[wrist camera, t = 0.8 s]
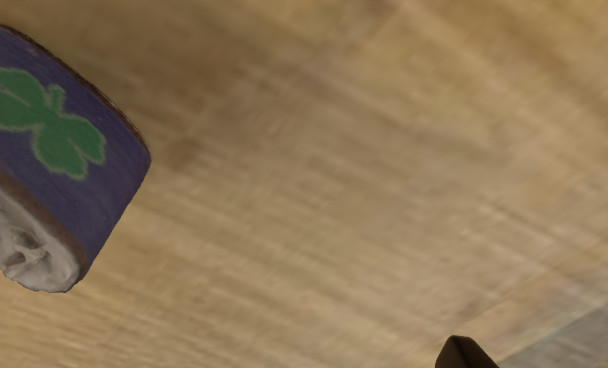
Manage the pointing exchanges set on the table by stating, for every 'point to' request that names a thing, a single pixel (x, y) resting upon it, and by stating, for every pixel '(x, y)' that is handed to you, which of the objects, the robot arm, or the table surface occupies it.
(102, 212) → the flask
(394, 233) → the table surface
